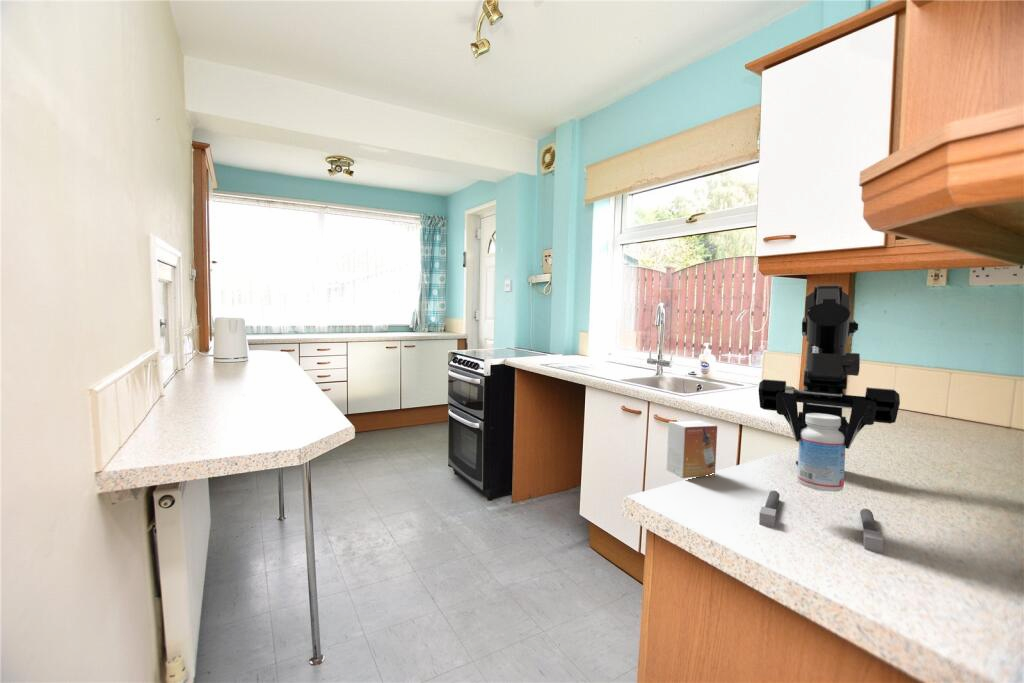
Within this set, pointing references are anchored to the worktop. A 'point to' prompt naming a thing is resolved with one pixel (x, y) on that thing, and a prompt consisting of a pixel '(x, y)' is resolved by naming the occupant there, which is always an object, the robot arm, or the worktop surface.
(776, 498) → the grey block-tipped rod
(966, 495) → the worktop surface
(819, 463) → the pill bottle
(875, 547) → the grey block-headed part
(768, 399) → the robot arm
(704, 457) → the small box
